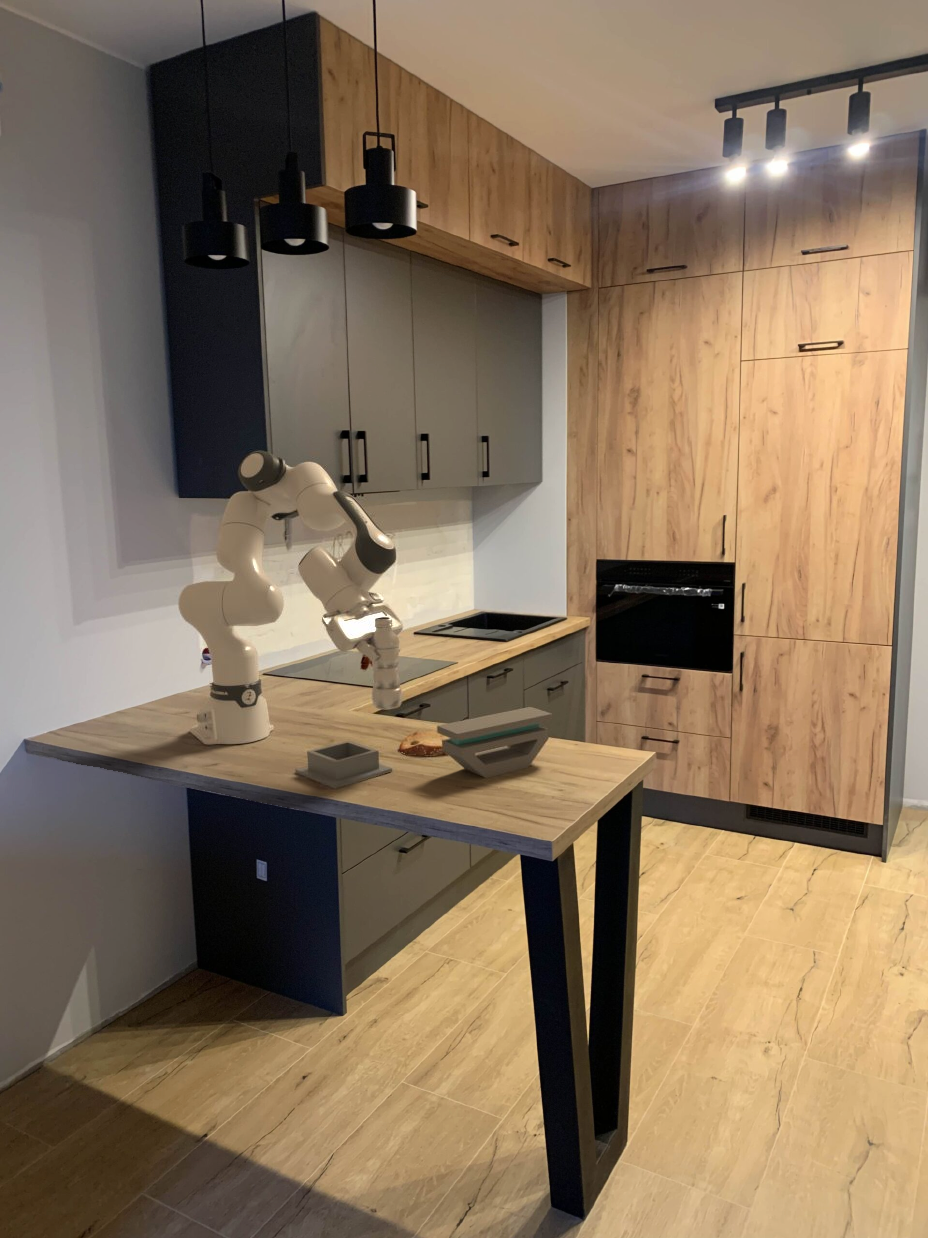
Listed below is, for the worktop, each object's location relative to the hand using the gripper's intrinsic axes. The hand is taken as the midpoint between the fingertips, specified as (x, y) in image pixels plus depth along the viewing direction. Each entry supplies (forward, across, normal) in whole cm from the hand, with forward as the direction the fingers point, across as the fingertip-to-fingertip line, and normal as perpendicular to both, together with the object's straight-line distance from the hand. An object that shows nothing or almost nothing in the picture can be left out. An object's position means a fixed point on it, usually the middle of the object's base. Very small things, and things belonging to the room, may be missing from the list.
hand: (387, 656), depth 201 cm
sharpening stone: (+32, +11, +3) cm, 34 cm away
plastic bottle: (+8, 0, +9) cm, 12 cm away
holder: (+12, -7, +23) cm, 27 cm away
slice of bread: (+19, +19, +17) cm, 32 cm away
